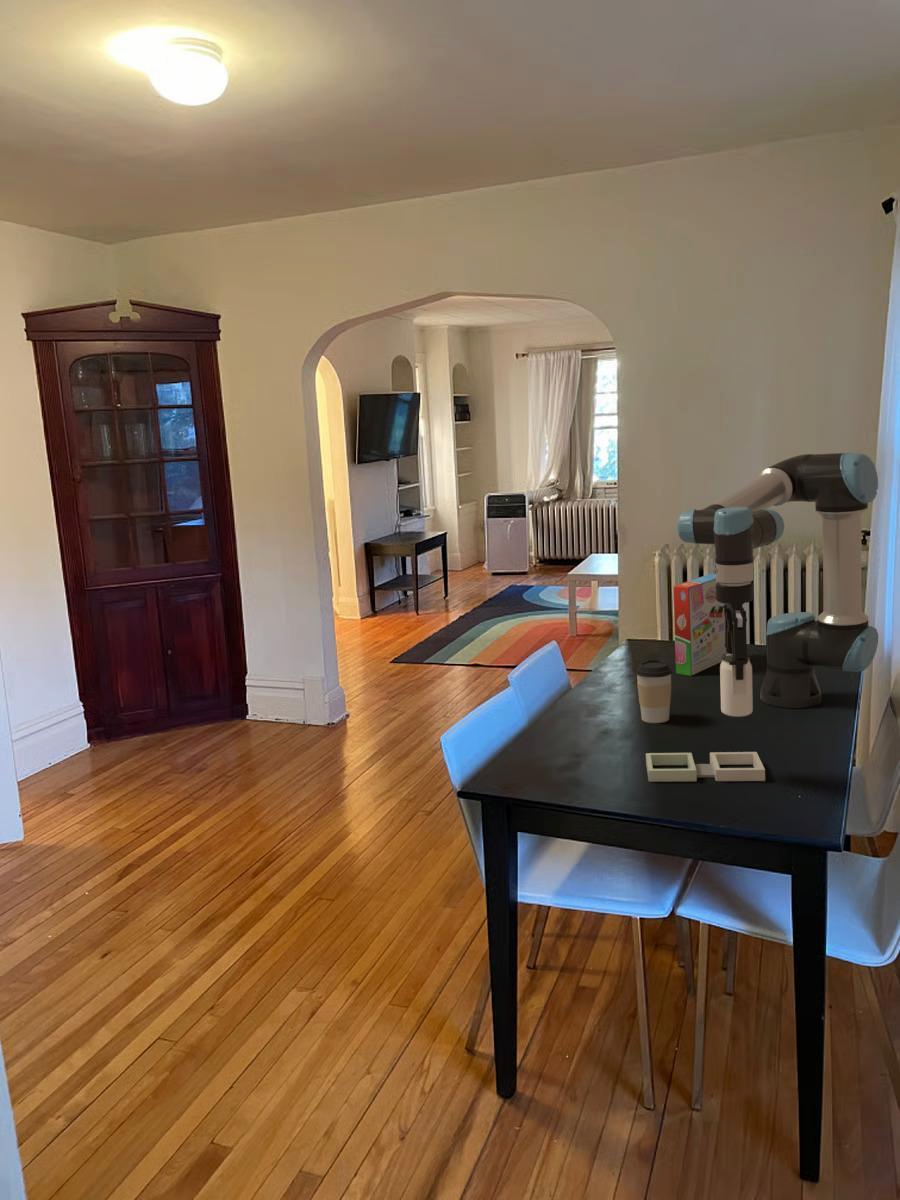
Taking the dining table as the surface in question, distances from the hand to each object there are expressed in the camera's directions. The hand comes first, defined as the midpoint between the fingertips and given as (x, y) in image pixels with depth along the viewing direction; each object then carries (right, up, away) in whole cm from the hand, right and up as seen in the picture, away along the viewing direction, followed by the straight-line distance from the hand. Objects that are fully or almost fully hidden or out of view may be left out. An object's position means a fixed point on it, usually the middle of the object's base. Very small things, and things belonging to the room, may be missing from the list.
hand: (736, 687), depth 187 cm
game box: (+16, -2, +81) cm, 83 cm away
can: (0, -6, +1) cm, 6 cm away
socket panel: (-6, -19, +5) cm, 20 cm away
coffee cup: (-8, -12, +40) cm, 42 cm away
